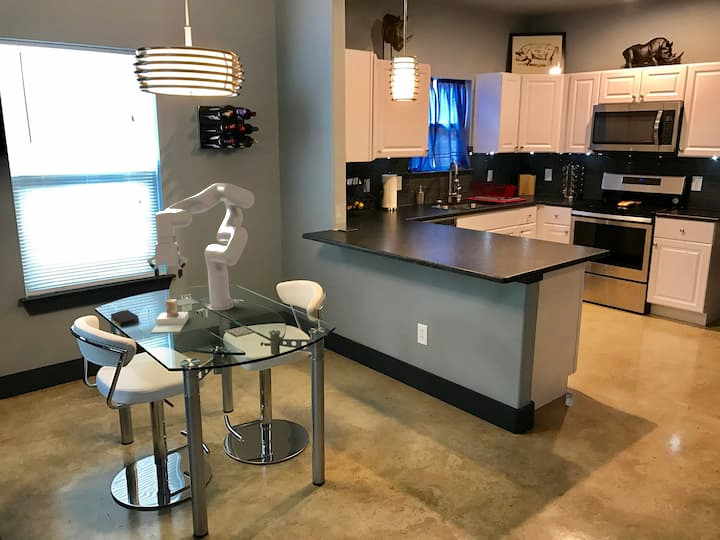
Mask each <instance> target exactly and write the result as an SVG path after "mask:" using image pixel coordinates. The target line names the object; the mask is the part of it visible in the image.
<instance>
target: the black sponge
mask: <svg viewBox="0 0 720 540" xmlns="http://www.w3.org/2000/svg"><path fill="white" fill-rule="evenodd" d="M110 320H111V321H112V322H114V323H115V324H117V325H119V327H121V328H125V327H126V326H130V325H135V324H138V323H139V322H140V318H139V315H137V314H135V313H133V312H132V311H130V310H128V309H126V310H124V309H123V310H120V311H117V312H116V311H115V312H113V313H110Z"/></svg>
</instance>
